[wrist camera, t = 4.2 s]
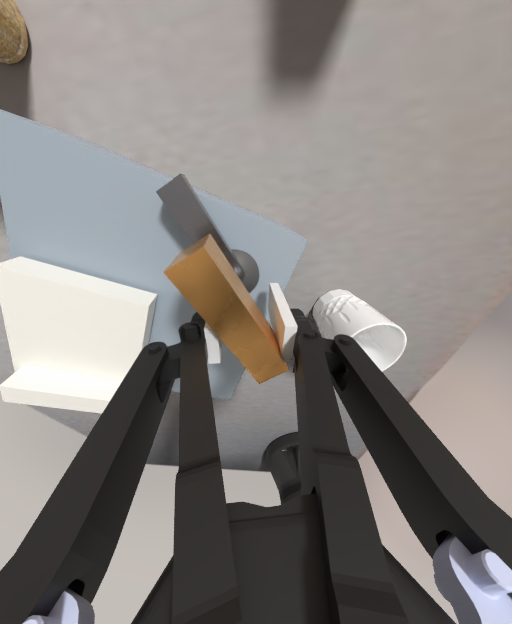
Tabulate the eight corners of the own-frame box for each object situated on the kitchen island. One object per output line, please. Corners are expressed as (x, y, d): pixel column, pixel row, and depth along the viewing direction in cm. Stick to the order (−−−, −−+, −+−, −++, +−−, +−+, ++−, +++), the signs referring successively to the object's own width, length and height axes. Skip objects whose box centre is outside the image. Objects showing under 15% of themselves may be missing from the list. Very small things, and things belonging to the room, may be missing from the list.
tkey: (249, 319, 20) (259, 384, 14) (160, 192, 14) (95, 193, 8) (269, 308, 20) (289, 369, 13) (185, 173, 14) (142, 158, 7)
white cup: (310, 334, 34) (337, 383, 25) (306, 292, 30) (336, 333, 21) (357, 323, 34) (401, 369, 25) (359, 279, 29) (412, 315, 21)
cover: (141, 383, 24) (124, 417, 20) (36, 366, 21) (-4, 402, 18) (157, 294, 19) (139, 319, 15) (20, 256, 16) (-42, 275, 12)
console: (229, 358, 34) (229, 402, 27) (77, 325, 29) (25, 370, 21) (286, 226, 25) (309, 241, 18) (74, 135, 19) (-23, 101, 12)
